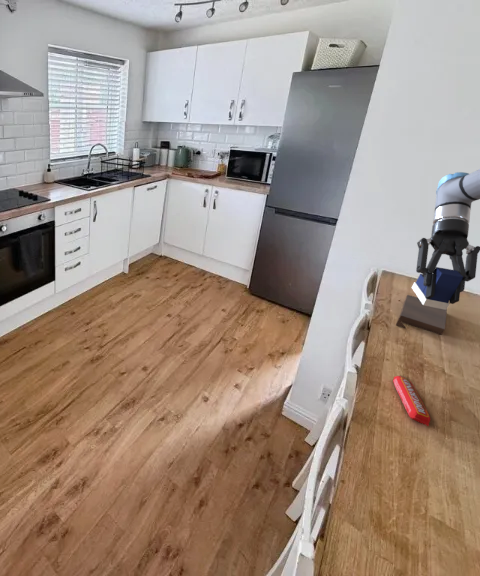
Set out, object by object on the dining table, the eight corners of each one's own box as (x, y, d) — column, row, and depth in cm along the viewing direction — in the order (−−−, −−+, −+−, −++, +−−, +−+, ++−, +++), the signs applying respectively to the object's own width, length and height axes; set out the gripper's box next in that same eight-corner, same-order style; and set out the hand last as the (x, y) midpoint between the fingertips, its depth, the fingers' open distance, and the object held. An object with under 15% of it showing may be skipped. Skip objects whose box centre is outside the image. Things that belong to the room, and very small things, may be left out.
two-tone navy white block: (411, 287, 112) (426, 257, 108) (432, 291, 111) (448, 261, 106) (423, 305, 103) (440, 273, 98) (446, 310, 101) (464, 277, 96)
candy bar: (429, 430, 81) (435, 420, 80) (409, 424, 83) (415, 415, 81) (405, 383, 95) (410, 374, 93) (389, 379, 96) (393, 370, 94)
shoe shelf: (402, 304, 133) (407, 294, 131) (441, 316, 127) (447, 306, 125) (395, 325, 120) (400, 315, 118) (438, 340, 113) (444, 329, 111)
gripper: (481, 236, 105) (474, 311, 99) (406, 225, 111) (396, 296, 106) (500, 223, 98) (493, 303, 93) (419, 212, 104) (409, 287, 99)
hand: (441, 299), depth 99 cm, fingers closed on two-tone navy white block, 5 cm apart
